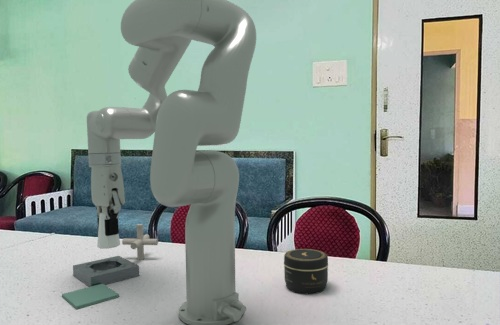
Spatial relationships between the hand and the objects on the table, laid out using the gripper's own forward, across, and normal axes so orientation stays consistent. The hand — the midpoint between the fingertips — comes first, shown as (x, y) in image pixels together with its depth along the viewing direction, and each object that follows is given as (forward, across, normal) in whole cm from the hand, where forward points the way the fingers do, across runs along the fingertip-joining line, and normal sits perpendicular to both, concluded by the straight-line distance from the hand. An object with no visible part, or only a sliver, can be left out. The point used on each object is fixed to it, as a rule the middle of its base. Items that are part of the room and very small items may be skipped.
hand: (108, 232), depth 98 cm
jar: (+12, -39, -29) cm, 50 cm away
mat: (+11, -10, +9) cm, 17 cm away
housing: (+11, +1, +1) cm, 11 cm away
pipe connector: (+11, +8, -12) cm, 18 cm away
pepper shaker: (+4, 0, 0) cm, 4 cm away
